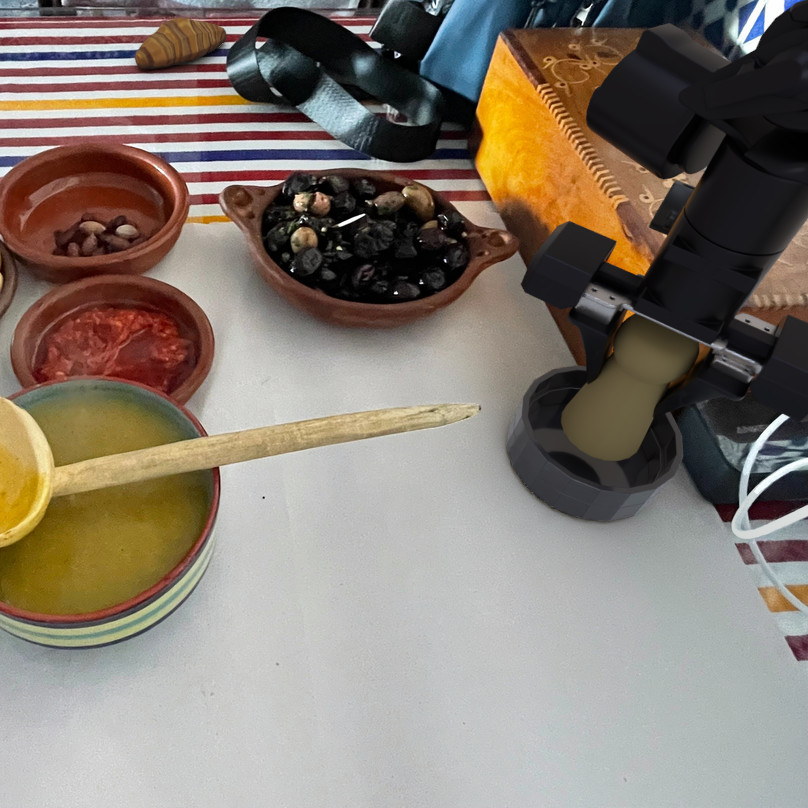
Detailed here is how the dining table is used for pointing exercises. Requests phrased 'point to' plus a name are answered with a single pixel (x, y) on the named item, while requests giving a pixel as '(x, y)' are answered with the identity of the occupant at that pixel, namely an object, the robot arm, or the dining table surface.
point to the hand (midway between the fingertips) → (622, 397)
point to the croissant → (179, 43)
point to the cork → (627, 389)
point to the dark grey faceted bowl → (586, 455)
